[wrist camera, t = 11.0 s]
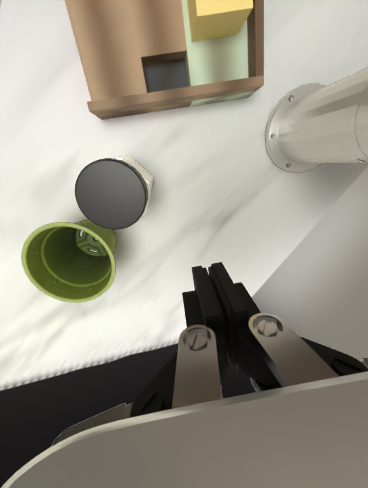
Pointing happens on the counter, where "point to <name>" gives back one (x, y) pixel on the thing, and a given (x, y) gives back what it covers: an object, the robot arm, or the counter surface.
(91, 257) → the plant pot
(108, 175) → the jar
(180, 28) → the wooden tray
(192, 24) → the block
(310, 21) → the counter surface
